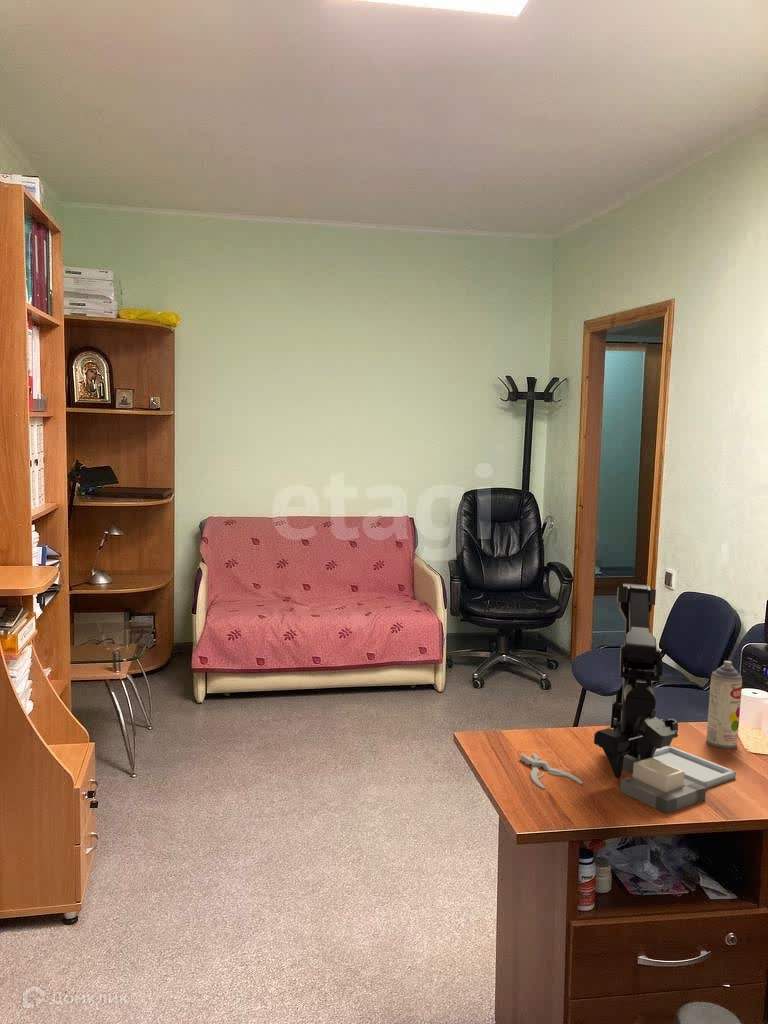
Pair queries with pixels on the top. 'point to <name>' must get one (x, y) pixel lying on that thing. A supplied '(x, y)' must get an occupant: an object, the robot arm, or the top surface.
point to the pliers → (539, 763)
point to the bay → (663, 794)
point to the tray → (694, 767)
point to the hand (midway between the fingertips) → (631, 773)
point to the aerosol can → (724, 707)
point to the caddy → (654, 773)
